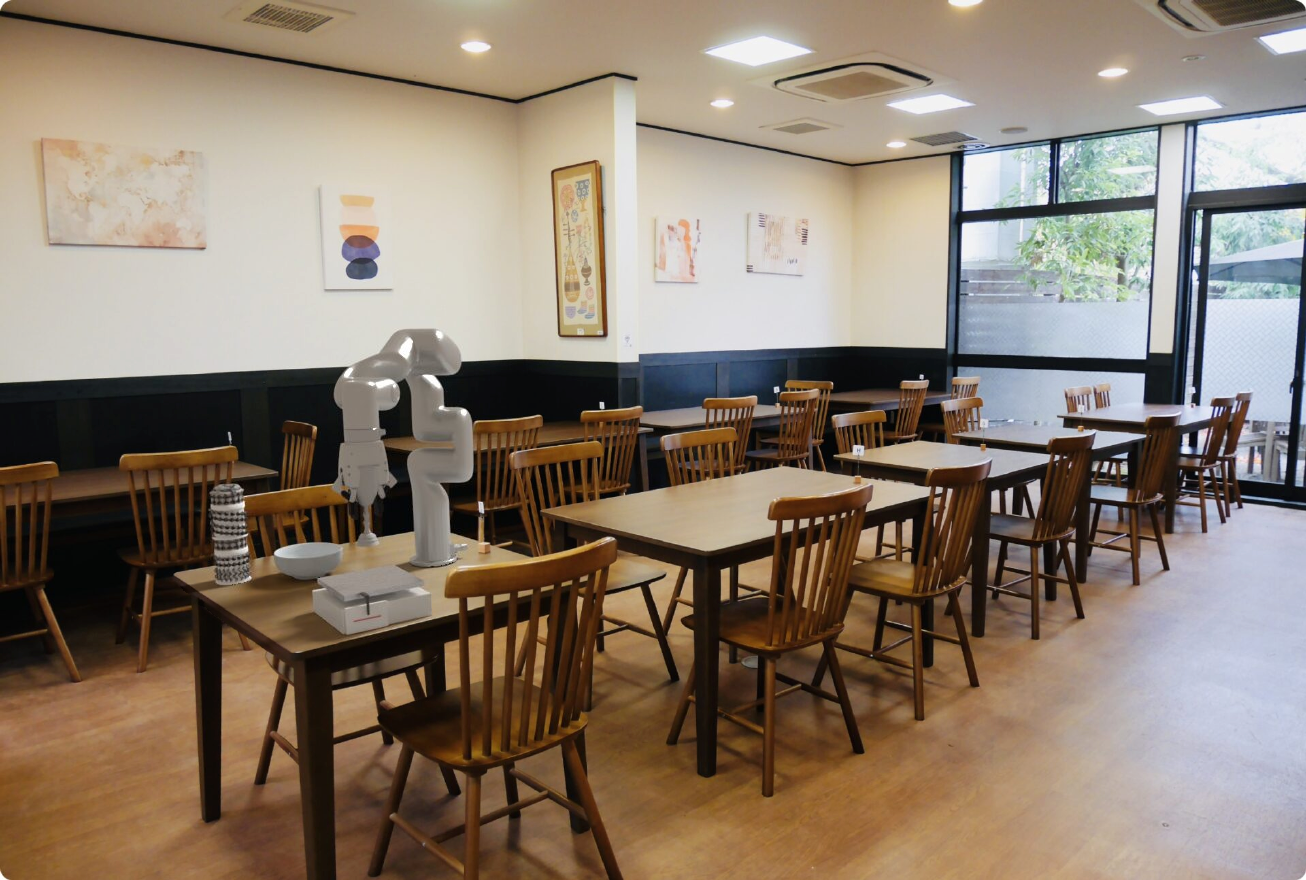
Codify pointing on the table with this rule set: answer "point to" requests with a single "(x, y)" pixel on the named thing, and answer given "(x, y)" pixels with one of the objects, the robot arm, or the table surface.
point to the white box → (369, 583)
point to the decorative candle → (229, 534)
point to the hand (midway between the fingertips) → (366, 516)
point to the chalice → (367, 502)
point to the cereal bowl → (308, 559)
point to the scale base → (371, 609)
